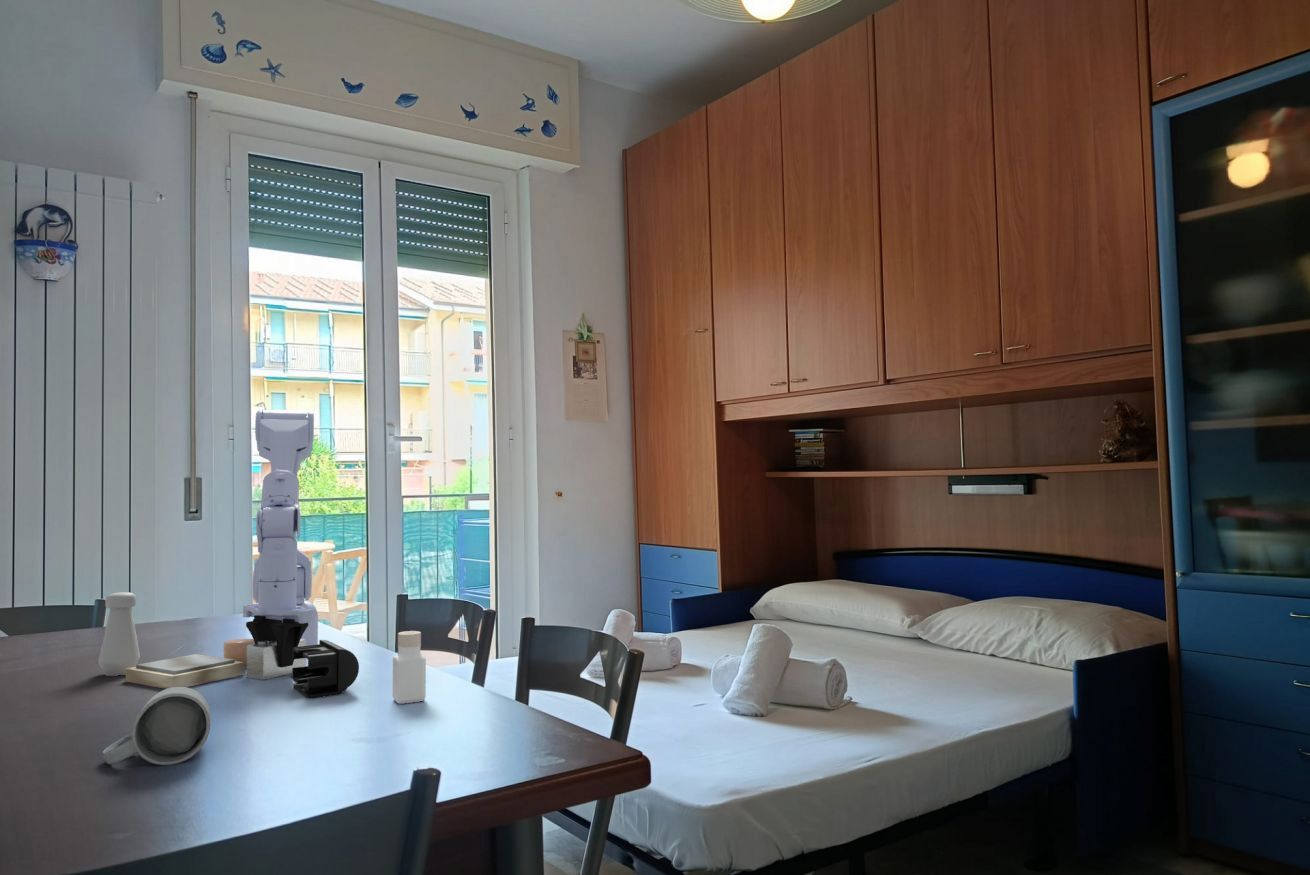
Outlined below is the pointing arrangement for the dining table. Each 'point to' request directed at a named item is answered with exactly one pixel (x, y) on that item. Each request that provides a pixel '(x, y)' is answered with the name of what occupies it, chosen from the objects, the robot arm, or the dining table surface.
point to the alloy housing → (268, 660)
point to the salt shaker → (119, 636)
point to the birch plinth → (184, 671)
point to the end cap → (324, 670)
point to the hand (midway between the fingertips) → (276, 664)
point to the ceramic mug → (166, 729)
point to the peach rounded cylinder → (237, 649)
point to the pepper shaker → (409, 669)
